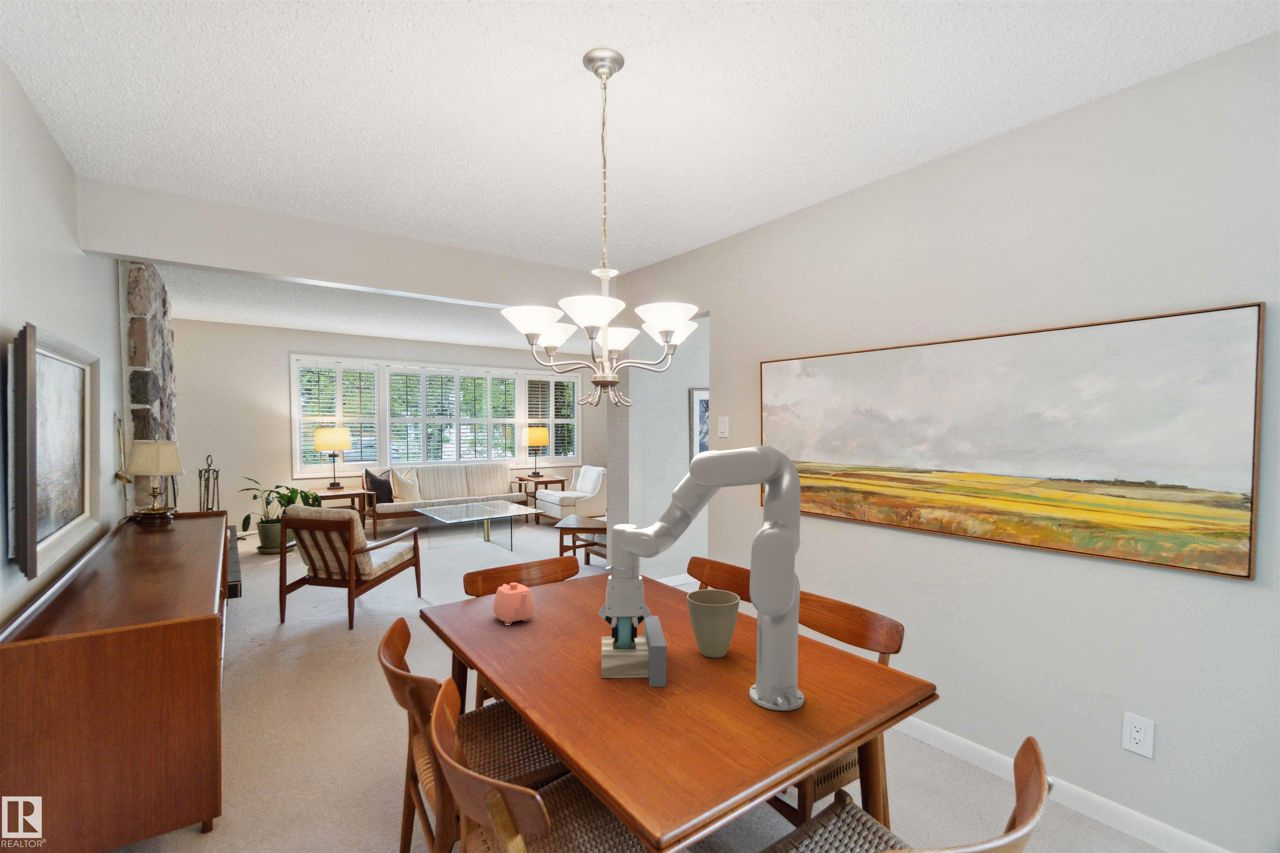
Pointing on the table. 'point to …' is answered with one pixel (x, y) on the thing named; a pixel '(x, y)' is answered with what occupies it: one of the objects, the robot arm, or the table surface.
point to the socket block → (624, 659)
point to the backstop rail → (655, 651)
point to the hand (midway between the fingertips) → (624, 639)
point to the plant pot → (713, 619)
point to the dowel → (624, 633)
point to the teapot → (513, 603)
